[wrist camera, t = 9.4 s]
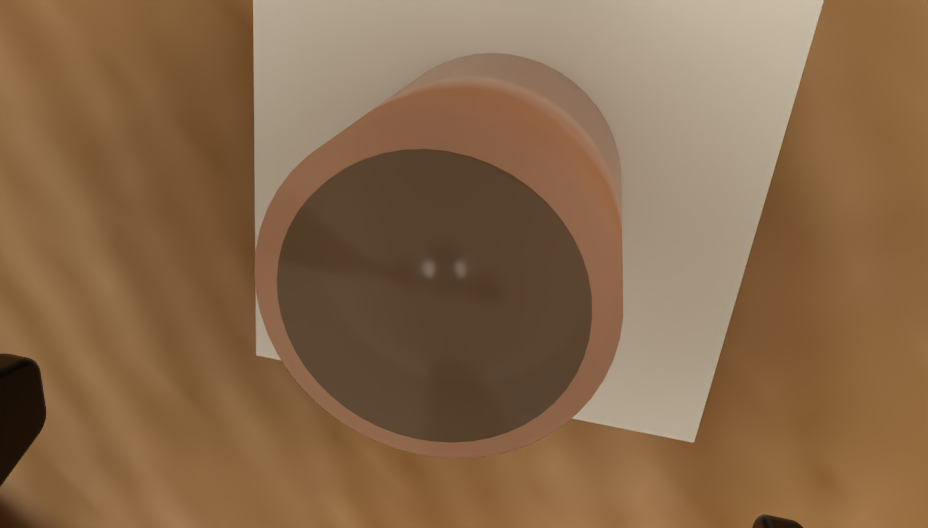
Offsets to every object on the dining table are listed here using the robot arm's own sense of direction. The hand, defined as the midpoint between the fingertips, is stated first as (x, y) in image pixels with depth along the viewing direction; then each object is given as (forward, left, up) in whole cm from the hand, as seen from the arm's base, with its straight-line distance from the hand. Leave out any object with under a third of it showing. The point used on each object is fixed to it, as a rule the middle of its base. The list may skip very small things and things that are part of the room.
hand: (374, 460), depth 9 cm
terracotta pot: (0, 0, -11) cm, 11 cm away
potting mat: (0, 0, -12) cm, 12 cm away
